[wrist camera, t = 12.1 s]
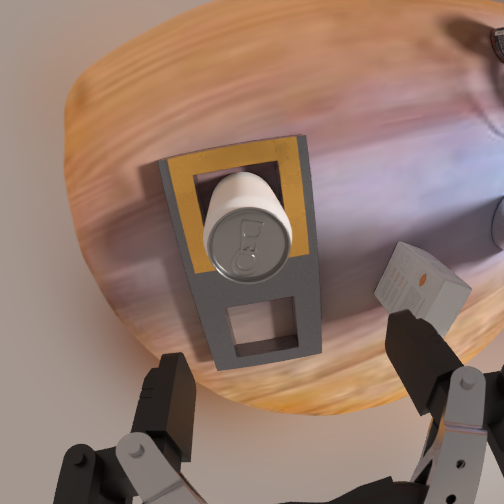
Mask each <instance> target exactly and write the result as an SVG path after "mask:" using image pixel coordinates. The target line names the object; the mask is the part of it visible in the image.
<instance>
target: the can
mask: <svg viewBox="0 0 504 504" xmlns="http://www.w3.org/2000/svg"><path fill="white" fill-rule="evenodd" d="M203 241H204V247H205V251H206V253H207V255H208V257H209V259H210V261H211V263H212V265H213V267H214V268H215V269H216V271H217V272H218V273H219V274H221V275H222V276H223V277H225V278H226V279H228V280H230V281H233V282H236V283H240V284H256V283H260V282H263V281H266V280H268V279H270V278H272V277H273V276H275V275H276V274H277V273H278V272H279V271H280V270H281V269H282V268H283V267H284V265H285V264H286V262H287V260H288V257H289V254H290V249H291V243H292V229H291V225H290V222H289V219H288V217H287V215H286V213H285V211H284V210H283V208H282V206H281V204H280V203H279V201H278V199H277V198H276V196H275V194H274V193H273V191H272V190H271V188H270V186H269V185H268V184H267V183H266V182H265V181H264V180H263V179H262V178H261V177H259V176H257V175H255V174H252V173H248V172H237V173H233V174H230V175H228V176H226V177H225V178H223V179H222V180H221V181H220V182H219V183H218V184H217V186H216V187H215V189H214V191H213V194H212V197H211V201H210V205H209V209H208V213H207V217H206V221H205V226H204V232H203Z"/></svg>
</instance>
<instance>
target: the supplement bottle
mask: <svg viewBox="0 0 504 504" xmlns="http://www.w3.org/2000/svg"><path fill="white" fill-rule="evenodd" d="M491 41H492V45H493V48H494V51H495V52H496V54H497V55H498V57H499V58H500V59H501V60H502V61H503V62H504V27H503V28H497V29H494V30H493V31H492V34H491Z"/></svg>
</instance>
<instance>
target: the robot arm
mask: <svg viewBox="0 0 504 504" xmlns="http://www.w3.org/2000/svg"><path fill="white" fill-rule="evenodd" d="M492 235H493V240H494V242H495V244H496V245H497V246H498V247H500V248H501V249H503V250H504V198H503V200H502V201H501V202H500V204H499V206H498V208H497V210H496V213H495V216H494V219H493V225H492ZM385 349H386V353H387V356H388V358H389V359H390V361H391V363H392V365H393V366H394V368H395V370H396V372H397V374H398V375H399V377H400V379H401V381H402V383H403V384H404V386H405V388H406V390H407V392H408V394H409V396H410V397H411V399H412V401H413V403H414V405H415V407H416V409H417V411H418V413H419V414H420V416H422V415H425V414H427V413H429V412H430V413H431V415H432V419H431V422H430V426H429V430H428V433H427V437H426V441H425V444H424V447H423V451H422V454H421V457H420V460H419V463H418V465H417V467H416V469H415V471H414V473H413V475H412V477H411V480H410V482H406V481H401V482H400V481H398V482H393V480H392V477H391V476H389V477H386V478H384V479H381V480H378V481H375V482H372V483H368V484H365V485H363V486H360V487H357V488H356V489H354V490H352V491H350V492H348V493H346V494H344V495H342V496H340V497H338V498H336V499H334V500H332V501H329V502H324V503H307V502H286V503H280V504H474V501H475V497H476V494H477V490H478V486H479V481H480V476H481V472H482V467H483V462H484V455H485V450H486V443H487V442H488V443H489V446H490V448H491V450H492V452H493V454H494V456H495V459H496V461H497V463H498V465H499V468H500V470H501V472H502V474H503V477H504V365H503V367H502V369H501V371H497V372H491V373H484V374H482V372H481V371H480V370H478V369H476V368H474V367H470V366H464V365H463V364H462V363H461V361H460V360H459V359H458V357H457V356H456V355H455V353H454V352H453V351H452V349H451V348H450V347H449V346H448V344H447V343H446V342H445V341H444V340H443V338H442V337H441V335H440V334H438V332H437V330H436V329H435V328H434V327H433V325H432V324H430V323H429V322H427V321H425V320H424V319H422V318H419V319H416V317H415V316H414V315H413V314H412V312H411V311H410V310H409V309H405V310H401V311H398V312H394V313H391V314H390V315H389V318H388V325H387V333H386V340H385ZM195 401H196V384H195V380H194V377H193V375H192V373H191V370H190V368H189V366H188V363H187V361H186V359H185V356H184V354H183V353H182V352H178V353H169V354H163V355H162V356H161V360H160V364H159V368H152V369H151V370H150V371H149V373H148V374H147V376H146V377H145V378H144V382H143V386H142V391H141V393H140V400H139V401H138V405H137V409H136V413H135V417H134V421H133V425H132V429H131V433H130V434H127V435H125V436H124V437H123V438H122V439H121V440H120V441H119V442H118V444H117V446H115V447H112V448H107V449H103V450H98V451H94V450H93V449H92V448H91V447H90V446H88V445H86V444H77V445H74V446H72V447H71V448H70V449H68V451H67V452H66V454H65V456H64V459H63V463H62V467H61V471H60V475H59V479H58V483H57V488H56V492H55V497H54V502H53V504H132V500H133V497H134V496H140V497H141V499H142V501H143V503H142V504H208V503H207V502H206V501H205V500H204V499H203V498H202V497H201V495H200V494H199V493H198V492H197V491H196V490H195V489H194V487H193V486H192V485H191V484H190V483H189V481H188V480H187V479H186V478H185V476H184V475H183V474H182V473H181V472H180V469H181V462H191V450H192V437H193V423H194V412H195Z"/></svg>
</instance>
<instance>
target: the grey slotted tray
mask: <svg viewBox="0 0 504 504" xmlns="http://www.w3.org/2000/svg"><path fill="white" fill-rule="evenodd" d="M270 161H274V162H275V169H276V176H277V183H278V190H279V197H280V204H281V206H282V208H283V210H284V211H285V213H286V215H287V217H288V219H289V222H290V225H291V229H292V243H291V249H290V254H289V257H288V260H287V262H286V264H285V265H284V267H283V268H282V269H281V270H280V271H279V272H278V273H277V274H276V275H275V276H273V277H272V278H270V279H268V280H266V281H263V282H260V283H256V284H240V283H236V282H233V281H230V280H228V279H226V278H225V277H223V276H222V275H221V274H219V273H218V272H217V271H216V269H215V268H214V267H213V265H212V263H211V261H210V259H209V257H208V255H207V253H206V251H205V247H204V241H203V232H204V226H205V221H206V217H205V213H204V208H203V203H202V199H201V194H200V189H199V184H198V180H197V175H196V174H201V173H206V172H212V171H217V170H222V169H228V168H233V167H239V166H245V165H251V164H257V163H263V162H270ZM158 164H159V169H160V173H161V178H162V182H163V186H164V191H165V195H166V199H167V203H168V207H169V211H170V215H171V219H172V223H173V227H174V231H175V235H176V238H177V242H178V246H179V250H180V253H181V257H182V260H183V264H184V267H185V271H186V274H187V278H188V281H189V285H190V288H191V291H192V295H193V298H194V301H195V304H196V308H197V311H198V314H199V317H200V320H201V323H202V327H203V330H204V333H205V336H206V339H207V342H208V345H209V348H210V351H211V354H212V356H213V359H214V362H215V365H216V368H217V371H221V370H229V369H236V368H243V367H250V366H256V365H262V364H268V363H274V362H280V361H285V360H290V359H296V358H301V357H306V356H310V355H315V354H320V353H322V333H321V302H320V281H319V264H318V249H317V235H316V223H315V211H314V201H313V191H312V181H311V172H310V163H309V155H308V147H307V139H306V135H301V134H298V135H290V136H282V137H274V138H267V139H260V140H254V141H248V142H241V143H235V144H230V145H224V146H219V147H214V148H208V149H203V150H199V151H194V152H189V153H184V154H180V155H176V156H171V157H167V158H163V159H161V160H159V161H158ZM291 296H292V306H293V315H294V325H295V335H292V336H286V337H281V338H275V339H270V340H264V341H258V342H252V343H246V344H239V345H236V342H235V338H234V334H233V330H232V326H231V322H230V318H229V315H228V311H227V307H233V306H240V305H246V304H252V303H257V302H263V301H269V300H275V299H280V298H286V297H291Z"/></svg>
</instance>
